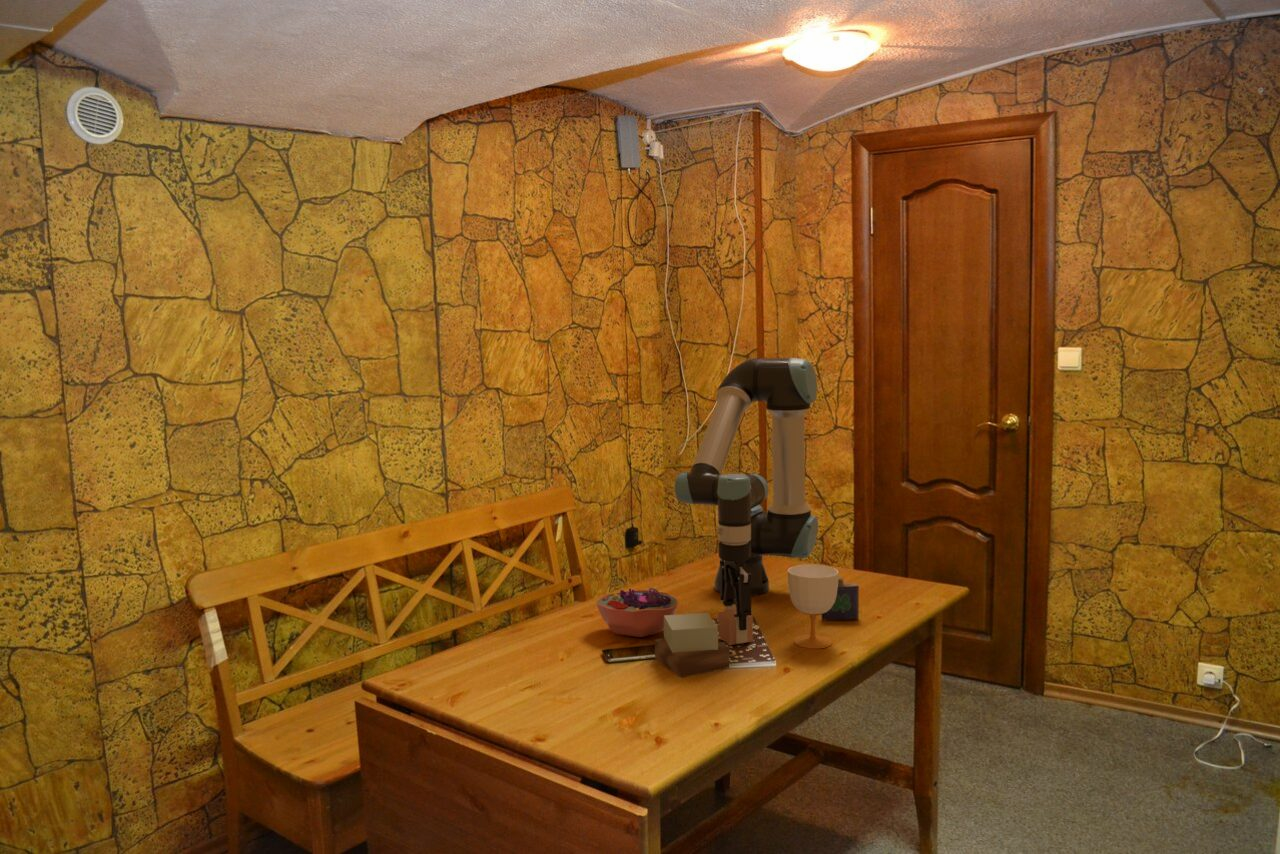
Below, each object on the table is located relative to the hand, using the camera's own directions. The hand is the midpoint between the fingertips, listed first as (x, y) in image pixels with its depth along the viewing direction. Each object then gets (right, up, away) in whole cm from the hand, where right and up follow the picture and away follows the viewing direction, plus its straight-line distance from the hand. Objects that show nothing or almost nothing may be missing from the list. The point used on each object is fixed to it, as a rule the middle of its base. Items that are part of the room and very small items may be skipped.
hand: (735, 637), depth 218 cm
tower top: (-11, +2, -14) cm, 18 cm away
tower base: (-11, -3, -13) cm, 18 cm away
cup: (+18, -1, -1) cm, 18 cm away
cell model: (-23, -1, +7) cm, 24 cm away
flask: (+28, +1, +15) cm, 31 cm away
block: (0, 0, 0) cm, 0 cm away
